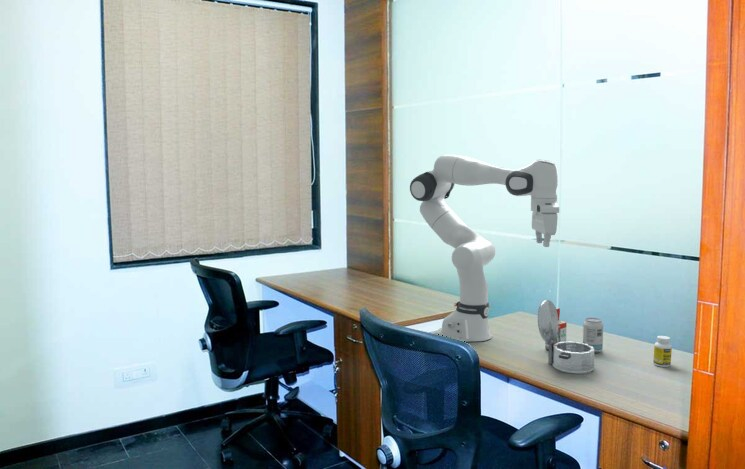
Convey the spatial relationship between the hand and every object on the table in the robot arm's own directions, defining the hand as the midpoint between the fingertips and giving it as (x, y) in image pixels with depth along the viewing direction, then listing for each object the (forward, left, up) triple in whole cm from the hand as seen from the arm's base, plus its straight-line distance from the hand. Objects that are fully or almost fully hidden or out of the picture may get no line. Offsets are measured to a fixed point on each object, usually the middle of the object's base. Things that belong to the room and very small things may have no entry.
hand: (542, 244), depth 213 cm
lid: (+6, -5, -26) cm, 27 cm away
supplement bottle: (+37, +16, -41) cm, 57 cm away
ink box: (+1, +11, -41) cm, 42 cm away
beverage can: (+13, +16, -41) cm, 46 cm away
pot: (+14, -5, -41) cm, 43 cm away
